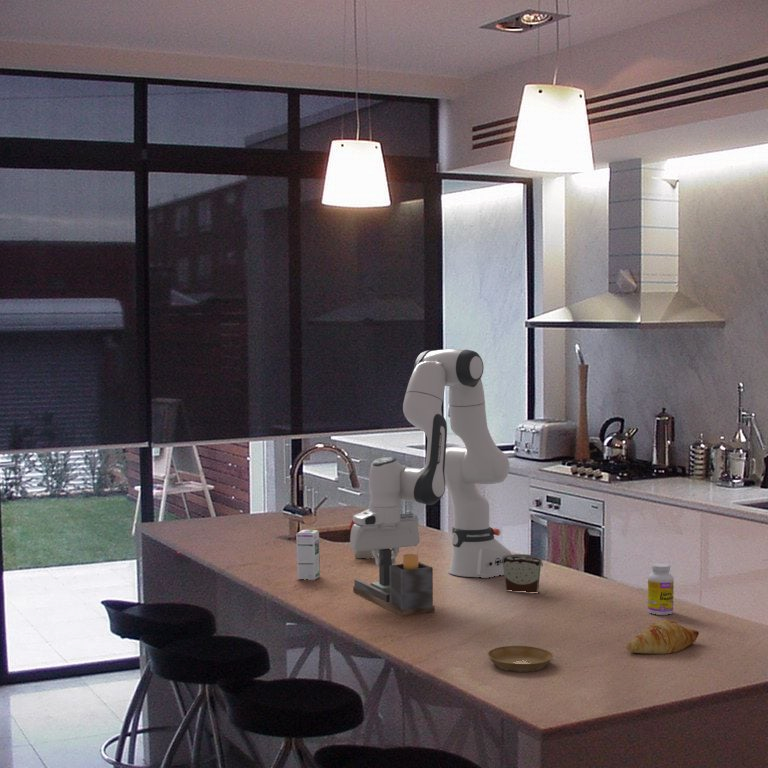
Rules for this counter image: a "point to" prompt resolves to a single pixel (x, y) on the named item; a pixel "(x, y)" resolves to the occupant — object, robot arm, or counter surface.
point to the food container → (522, 572)
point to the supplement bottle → (660, 590)
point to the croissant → (663, 638)
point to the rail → (403, 590)
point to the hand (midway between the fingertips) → (385, 564)
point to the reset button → (410, 561)
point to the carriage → (384, 571)
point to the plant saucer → (520, 657)
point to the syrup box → (308, 554)
